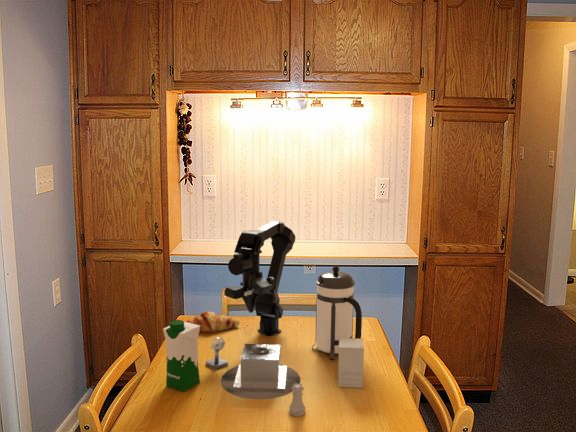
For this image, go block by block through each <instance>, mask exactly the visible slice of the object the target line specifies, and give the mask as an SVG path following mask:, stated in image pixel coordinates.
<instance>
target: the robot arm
mask: <svg viewBox="0 0 576 432" xmlns="http://www.w3.org/2000/svg"><path fill="white" fill-rule="evenodd" d="M268 239H271V243H270V244H271V247H272V251H273V252H272V257H271V261H270V265H269V269H268V272H267V273H268V274H267V276H266V277H264V276H263V271H261V270H260V254H262V253H263V251H262V249H261V248H262V247H264V245H265V241H267V240H268ZM295 242H296V234H295V233H294V231H293V230H292V229H291V228H290V227H288V226H286V225H285V223H284V222H282V221H277V220H270V221H268V222H267V223H266V224H264V225H262V226H260V227H259V228H257V229H252V230H249V229H248V230H244V231H242V232H241V233H240V235H239V237H238V240H237V243H236V246H235V248H234V254H233V255H232V257H231V259H230V260H229V262H228V264H227V268H228V271H229V272H230V273H231V274H232V275H234V276H240V275H242V281H240V282H239V284H240V285H239V286H240V287H239V286H237V285H231V286H227V287H225V289H224V291H223V294H224V296H225V297H228V298H230V299H233V300H237V299H238V300H239V299H242V300H243V302H244V304H245V306H246V308H247V310H248V313H250V314H251V313H253V312H254V310H255V314H256V315H255V316H257V317H260V321H259V329H257V332H259V334H260V333H261V334H263V335H265V336H267V337H269V336H273V335H277V334H279V333H282V330H281V329H280V328H279V319H282V316H283V314H284V309H283V307H282V306H281V305H280V303H281V302H280V301H281V299H280V297H279V293H278V290H279V287H280V282H281V278H282V275H283V274H282V273H283V269H284V264H285V261H286V257H287V254H289V253H290V252H291V250H292V249H293V246H294V244H295Z"/></svg>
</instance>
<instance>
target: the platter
mask: <svg viewBox="0 0 576 432" xmlns="http://www.w3.org/2000/svg"><path fill="white" fill-rule="evenodd" d="M280 366H285V365H284V364H281V363H280ZM238 367H239V365H236V366H234V367H232V368H229V369H228V370H227V371H225V373H224V374H222V376H221V378H220V384H221V386H222V387H223V389H224V390H225V391H226V392H228V393H229V394H231V395H234V396H236V397H239V398H243V399H247V400H248V399H249V400H271V399H276V398H277V399H278V398H281V397H284V396H287V395H289V394H290V393H293V390H292V389H291V388H292V386H293V384H295V383H297V384H299V383H301V376H300V374H299V373H298V372H297V371H296V370H294V369H293V368H292V367H289V366H287V373H286V385H285V393H284V392H247V391H233V385H234V382H235V378H236V375H237V371H238Z"/></svg>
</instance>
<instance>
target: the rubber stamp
mask: <svg viewBox="0 0 576 432" xmlns="http://www.w3.org/2000/svg"><path fill="white" fill-rule="evenodd" d="M225 344H226V343H225V339H224V338H223V337H222V336H221V337H220V336H216V337H214V339H212V341H211V349H212V350H213V351H214V358H212V359H208V360H206V361H205V365H206V366H208V367H209V368H211V369H212V370H214V371H216V370H218V369H219V370H220V369H222V368H224V367H228V365H229V362H228V361H227V360H225V359H223V358H222V357H220V351H222V350H223V349H224V347H225Z"/></svg>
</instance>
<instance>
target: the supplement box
mask: <svg viewBox="0 0 576 432" xmlns="http://www.w3.org/2000/svg"><path fill="white" fill-rule="evenodd" d="M364 356H365V347H364V340H363V338H361V339H355V337H354V338H339V353H338V368H337V370H338V371H337V372H338V373H337V374H338V375H337V377H338V378H337V379H338V388H357V389H363V387H364V386H363V385H364V359H365V357H364Z"/></svg>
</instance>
